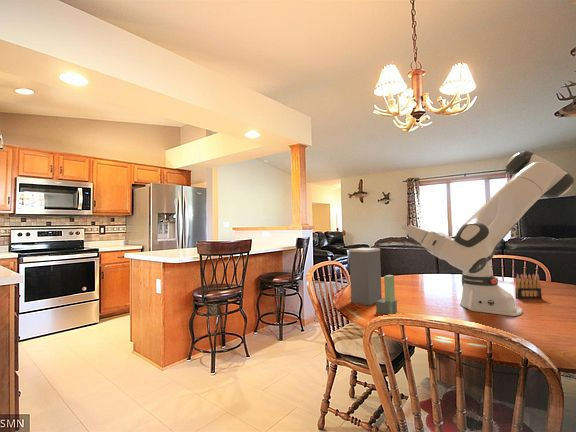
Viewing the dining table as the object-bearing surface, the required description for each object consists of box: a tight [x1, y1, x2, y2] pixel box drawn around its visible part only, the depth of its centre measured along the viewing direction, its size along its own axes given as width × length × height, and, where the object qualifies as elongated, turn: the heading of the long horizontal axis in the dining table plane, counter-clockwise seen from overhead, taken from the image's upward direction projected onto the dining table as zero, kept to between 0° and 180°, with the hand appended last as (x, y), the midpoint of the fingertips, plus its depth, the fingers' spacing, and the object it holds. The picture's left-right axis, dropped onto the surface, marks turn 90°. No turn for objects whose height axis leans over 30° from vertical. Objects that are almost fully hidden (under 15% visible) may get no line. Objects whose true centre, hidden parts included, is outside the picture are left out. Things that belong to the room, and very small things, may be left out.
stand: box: [348, 247, 383, 307], centre depth 147 cm, size 10×12×26 cm
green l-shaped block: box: [375, 274, 398, 316], centre depth 128 cm, size 16×7×6 cm
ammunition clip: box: [515, 273, 543, 300], centre depth 144 cm, size 11×2×12 cm, turn 82°
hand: (409, 229), depth 123 cm, fingers open, 8 cm apart
